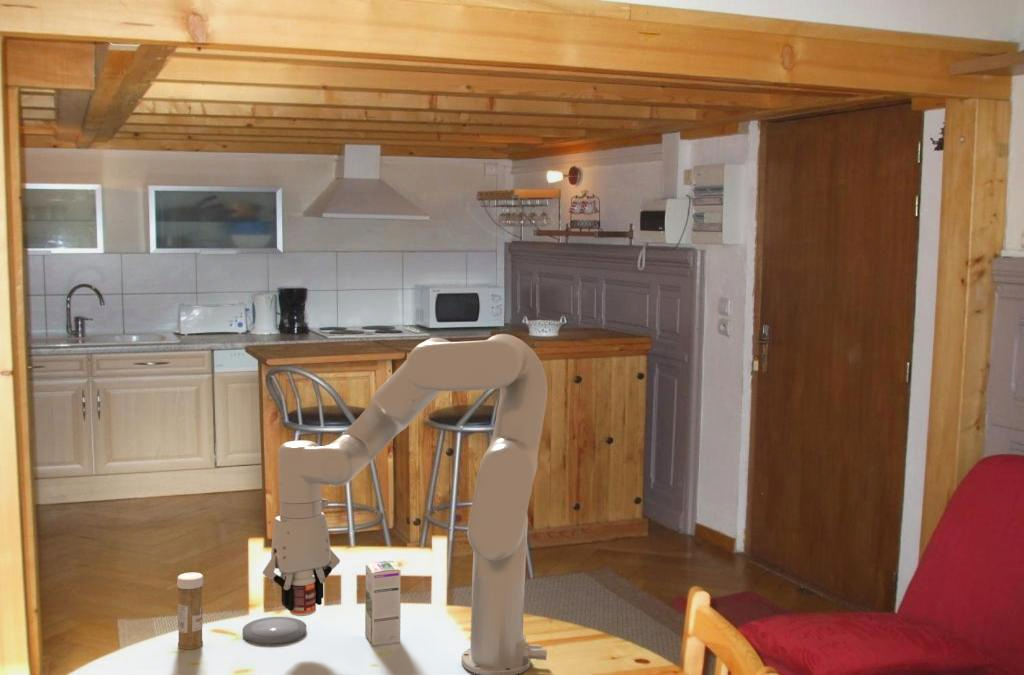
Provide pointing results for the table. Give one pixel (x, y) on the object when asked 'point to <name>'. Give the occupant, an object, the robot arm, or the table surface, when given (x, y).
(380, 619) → the syrup box
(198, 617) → the sprinkles bottle
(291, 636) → the dish
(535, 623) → the table surface
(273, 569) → the robot arm
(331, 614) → the table surface
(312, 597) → the pill bottle
